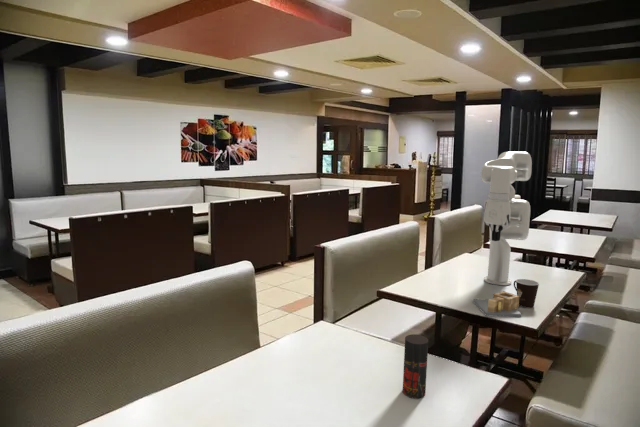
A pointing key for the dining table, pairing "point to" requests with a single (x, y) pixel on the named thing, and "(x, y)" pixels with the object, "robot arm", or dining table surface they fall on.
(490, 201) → the robot arm
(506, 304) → the tan wooden block
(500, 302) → the stop pin
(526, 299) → the coffee mug
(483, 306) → the board
